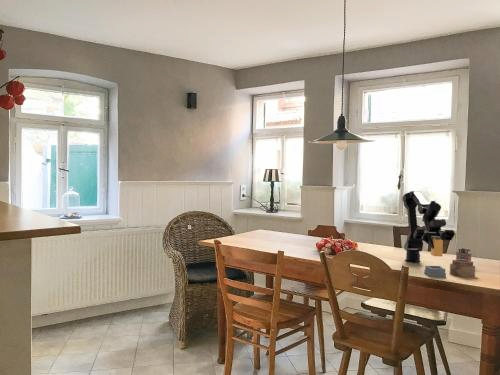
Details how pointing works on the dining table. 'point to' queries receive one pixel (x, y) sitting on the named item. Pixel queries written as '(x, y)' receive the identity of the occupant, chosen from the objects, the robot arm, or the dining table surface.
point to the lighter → (463, 254)
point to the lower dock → (435, 271)
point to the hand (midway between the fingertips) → (438, 248)
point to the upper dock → (462, 268)
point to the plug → (437, 247)
